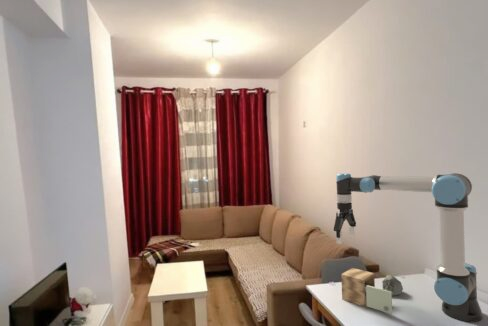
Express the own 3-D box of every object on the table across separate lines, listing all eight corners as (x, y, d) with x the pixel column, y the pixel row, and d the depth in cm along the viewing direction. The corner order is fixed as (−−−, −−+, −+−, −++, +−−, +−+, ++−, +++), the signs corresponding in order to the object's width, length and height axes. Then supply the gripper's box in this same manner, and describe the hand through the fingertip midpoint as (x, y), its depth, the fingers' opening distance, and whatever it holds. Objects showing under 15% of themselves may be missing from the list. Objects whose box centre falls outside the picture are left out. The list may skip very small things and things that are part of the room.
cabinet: (375, 298, 158) (374, 273, 158) (364, 306, 150) (363, 280, 150) (353, 291, 167) (352, 267, 166) (342, 299, 158) (341, 274, 158)
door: (390, 315, 139) (389, 293, 139) (363, 306, 148) (363, 286, 148) (392, 313, 141) (391, 291, 141) (365, 304, 150) (365, 284, 149)
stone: (396, 277, 158) (390, 270, 168) (380, 289, 160) (376, 281, 170) (409, 292, 157) (402, 283, 167) (393, 303, 159) (388, 294, 169)
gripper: (349, 198, 177) (350, 234, 177) (325, 204, 160) (327, 244, 160) (361, 199, 171) (362, 237, 172) (338, 205, 154) (340, 247, 155)
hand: (345, 240), depth 166 cm, fingers open, 13 cm apart
